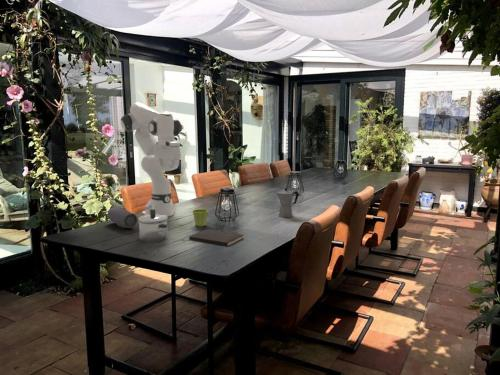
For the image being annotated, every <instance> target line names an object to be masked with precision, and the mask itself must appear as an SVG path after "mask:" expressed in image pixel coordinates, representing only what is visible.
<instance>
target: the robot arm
mask: <svg viewBox="0 0 500 375" xmlns="http://www.w3.org/2000/svg"><path fill="white" fill-rule="evenodd" d="M129 112H130V113H126V114H124V115H123V116H122V117H121V118H120V125H121V128H122V129H123V131H125V132H132V131H134V136H135V140H136V141H137V143H138V146H139V147H140V149H141V151H142V153H143V154H145V156H144V157H142V160H141V163H140V164H141V166H140V167H141V168H142V170H143V171H144V172H145V173H146V174H148V176H149V178H150V180H151V183H152V184H151V185H152V186H151V187H152V193H151V194H150V196H151V197H150V198H151V199H150V200H149V201H147V203H146V204H145V210H143V211H141V214H143V215H150V210H151V209H155V214H162V215H166V216H167V217H168V218H169V217H171V216H174V215H175V214H176V211H175V210H174V202H173V200H172V192H171V180H169V179H168V178H167V177H166V176H164V172H170V171H173V170H176V169H178V167H179V165H180V159H181V147H180V146H181V142H180V141H179V140H177V139H175V137H178V136H179V135H180V134H181V132H182V129H183V125H182V123H181V122H180V120H179V119H178V118H174V117H173V114H171V113H170V112H159V111H156V110H154V109H153V108H151V107H149V106H147V105H145V104H144V103H141V102H134V103H132V104H131V106H130V108H129ZM156 137H157V138H156Z"/></svg>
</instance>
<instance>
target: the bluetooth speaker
mask: <svg viewBox="0 0 500 375" xmlns="http://www.w3.org/2000/svg"><path fill="white" fill-rule="evenodd" d="M106 217H107V219H108V220H110V221H111V222H112V223H114V224H116V225H117V226H118V227H120V228H122V229H132V228H134V227H136V226H137V224H138V223H139V220H138V216H137V215H136V214H135V213H134V212H131V211H129V210H126V208H125V209H124V208H121V207H116V206H113V207H111V208H109V209H108V211H107V216H106Z"/></svg>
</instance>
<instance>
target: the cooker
mask: <svg viewBox="0 0 500 375" xmlns="http://www.w3.org/2000/svg"><path fill="white" fill-rule="evenodd" d="M138 228H139V230H138V231H139V240H140V241H142V242H148V243H149V242H151V243H152V242H161V241H164V240H167V239H168V237H169V236H168V219H167V220H164V221H160V222H141V221H139V220H138Z"/></svg>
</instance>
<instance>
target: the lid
mask: <svg viewBox="0 0 500 375" xmlns="http://www.w3.org/2000/svg"><path fill="white" fill-rule="evenodd" d="M168 218H169V216H168V217H167V216H166V215H162V214H155V209H151V210H150V215H144V214H143V215H140V216H139V217H137V219H138V222H139V221H141V222H160V221H164V220H167V221H168Z"/></svg>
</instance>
